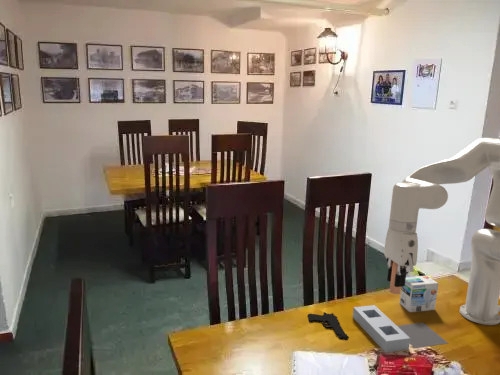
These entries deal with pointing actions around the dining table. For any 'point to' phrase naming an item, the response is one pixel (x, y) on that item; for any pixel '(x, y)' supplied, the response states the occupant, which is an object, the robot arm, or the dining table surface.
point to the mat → (421, 335)
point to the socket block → (381, 328)
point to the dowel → (394, 271)
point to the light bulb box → (419, 294)
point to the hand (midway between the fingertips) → (395, 282)
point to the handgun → (329, 323)
